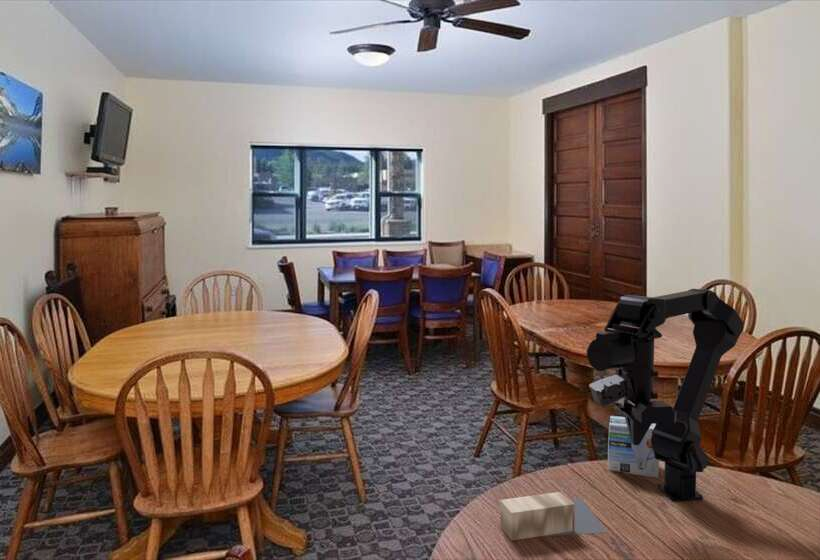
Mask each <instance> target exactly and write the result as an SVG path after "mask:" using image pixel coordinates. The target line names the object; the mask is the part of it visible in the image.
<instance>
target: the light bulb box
mask: <svg viewBox="0 0 820 560" xmlns="http://www.w3.org/2000/svg"><path fill="white" fill-rule="evenodd" d="M609 417H610V419H609V425H608V442H607V444H608V445H607V470H608V471H614V472H621V473H624V474H627V475H628V474H629V475H634V474H635V476H644V477H652V478H659V475H660V474H659V469H660V468H659V467H660V460H657V459H655V456H654V452H653V448H652V444H651V436H652V433H651V432H652V431H653V429H654V427H655V425H656V424H651V426H650V427H649V429H648V431H647V432H646V434H645V436H644V438H643V439H642V441H641V443H640V444H639V445H633V444H632V441H631V438H630V434H629V430H628V427H627V423H626V420H625V416H619V415H618V416H616V415H610V416H609Z"/></svg>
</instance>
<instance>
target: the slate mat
mask: <svg viewBox="0 0 820 560" xmlns="http://www.w3.org/2000/svg"><path fill="white" fill-rule="evenodd" d="M569 499H570V500H571V501H572V502H573V503H574V504H575V521H574V531H570V532H564V533H557V534H551V535H544V536H543V537H553V536H569V535H570V536H573V535H590V534H607V533H608V531H607V530H606V528H605V527H604V526H603V525H602V523H601V522H600V521H599V519H598V518H597V517H596V515H595V514H594V513H593V511H592V510H591V509H590V507H589V506H588V505H587V504H586V502H585V501H584V500H583V498H569Z"/></svg>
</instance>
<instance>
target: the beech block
mask: <svg viewBox="0 0 820 560" xmlns="http://www.w3.org/2000/svg"><path fill="white" fill-rule="evenodd" d="M570 499H571V498H568V497H567V495H565V494H564V493H563V492H562V491H556V492H549V493H540V494H533V495H526V496H520V497H513V498H506V499H500V500H499V501H500V503H499V505H500V511H499V512H500V515H499V516H500V519H499V521H500V524H499V525H500V526H499V527H500V528H501V529H502V530H503V531H504V533H505V535H506V536H507V537H508V538H509V539H510V541H517V540H523V539H530V538H537V537H545V536H544V535H551V534H557V533H564V532H570V531H574V521H575V504H574V503H573V502H572V501H571V500H570Z"/></svg>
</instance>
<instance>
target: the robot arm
mask: <svg viewBox="0 0 820 560" xmlns="http://www.w3.org/2000/svg"><path fill="white" fill-rule="evenodd" d="M687 314H688V319H689V321H691V323H692V324H693V325H694V327H693V328H692V329H693V330H692V335H693V339H694V343H695V349H694V351H693V354H692V356H691V360H690V363H689V365H688V368H687V370H686V373H685V375H684V378H683V380H682V384H681V386H680V388H679V392H678V394H677V398H676V400H675V403H674V406H673V407H672V406H671V405H670V404H668V403H666V402H665V401H663V400H658V398H659V397H658V395H659V394H658V392H656V391H655V390H654V380H655V379H654V378H659V371H658V370H656V369H655V367H654V366H655V339H661V338H662V337H663V335H662V333H661V332H660V331H659V330H657V328H658V327H659V326H662V325H664V324H665V322H666V320H668V319H670V318H674V317H677V316H678V317H679V316H682V315H683V316H684V315H687ZM610 315H611V316H610V317H609V319H608V321H607V323H606V325H605V327H604V331H598V332H596V333H595V339H593V340H592V341H591V342H590V343H589V344H588V347H587V349H586V357H587V361H588V362H589V365H591V367H592V368H593V369H594V370H596V371H598V372H605V371H611V370H615V372H614V373H615V374H613V375H610V376H606V377H603V378H601V379H599V380H596V381H594V382H591V383H589V385H588V386H589V389H590V391H591V395H592V398H593V400H594V402H596V403H597V404H598V405H599V406H601V407H606V406H609V405H611V403H614V404H613V405H614V407H616V408H617V409H618V410H619V411H620V412H621V413H622V414H623V415H624V416H623V417H625V420H626V423H627V427H628V430H629V434H630V438H631V441H632V444H633V445H639V444H640V443H641V441H642V439H643V438H644V436H645V434H646V432H647V431H648V429H649V427H650V426H651V424H656V425H655V427H654V429H653V431H652V432H651V433H652V436H651V444H652V448H653V452H654V456H655V459H657V460H659V461H661V462H663V463H664V483H657V484H656V487H657V488H658V489H659V490H660V491H661V492H662V493H663V494H664V495H665V496H667V498H669V499H670V500H671V501H685V500H686V501H688V500H689V501H690V500H703V498H704V496H703V495H702V494H701V493H700V492H699V491H697V473H703V472H704V471H705V469H706V468H707V467H708V463H709V456H708V455H707V454H706V453H705V451H704V450H703V449H702V447H701V446H700V445H701V441H702V435H701V429H700V426H699V419H700V417H701V414H702V411H703V409H704V406H705V404H706V403H705V402H706V401H707V397H708V394H709V391H710V389H711V386H712V384H713V380H714V378H715V375H716V373H717V369H718V367H719V365H720V361H721V359H722V357H723V356H724V355H725V354H726V353H728V352H729V351H730V350H731V349H732V348H734V347H736V344H737V342H738V341H739V337H740V336H741V334H742V333H743V330H744V321H743V320H742V318H741V317H740V315H739V313H738V311H736V309H735V308H734V307H732V306H731V305H729V304H727V302H725V301H723V300H722V299H720V297H719V296H718V295H717V293H716V292H715V291H713V290H709V289H701V288H691V289H688V290H685V291H679V292H674V293H669V294H663V295H659V296H643V295H631V294H630V295H629V294H625V295H622V296H620V297H619V301H618V302H617V304H616V306H615V307H614V309H613V311H612V314H610ZM653 399H654V400H653ZM655 399H657V400H655ZM617 401H618V402H617ZM615 402H616V403H615Z"/></svg>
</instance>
